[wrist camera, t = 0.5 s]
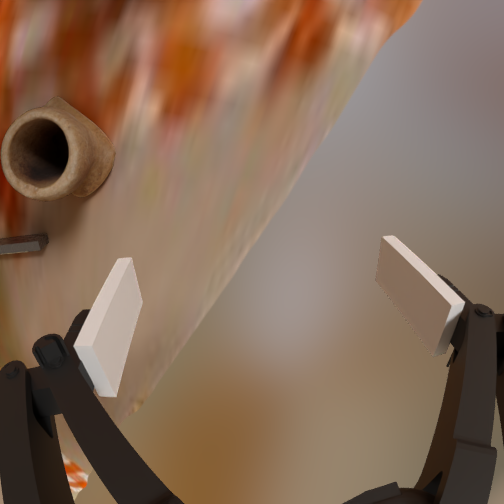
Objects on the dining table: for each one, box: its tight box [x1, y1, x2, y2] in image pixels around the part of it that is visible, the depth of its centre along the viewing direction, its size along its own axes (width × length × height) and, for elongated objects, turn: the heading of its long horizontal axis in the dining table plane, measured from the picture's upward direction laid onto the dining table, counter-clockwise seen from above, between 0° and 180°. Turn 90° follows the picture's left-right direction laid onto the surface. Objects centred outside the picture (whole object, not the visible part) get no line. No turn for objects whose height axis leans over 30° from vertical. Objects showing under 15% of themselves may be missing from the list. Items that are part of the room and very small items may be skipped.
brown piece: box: [1, 96, 116, 201], centre depth 30 cm, size 15×12×15 cm
